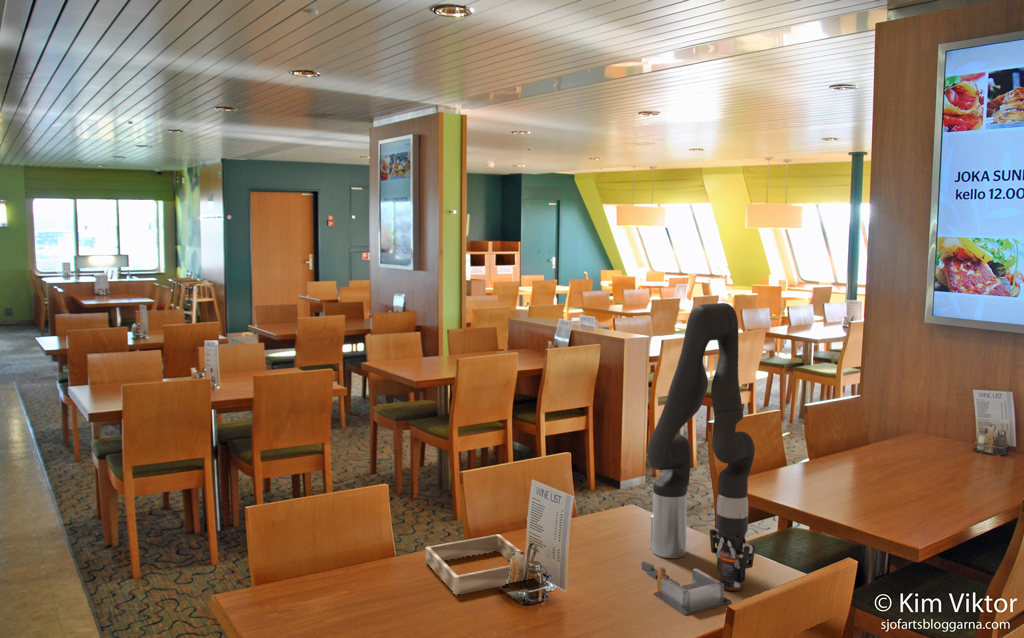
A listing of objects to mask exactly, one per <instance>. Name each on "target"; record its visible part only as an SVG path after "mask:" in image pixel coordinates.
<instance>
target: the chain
mask: <svg viewBox="0 0 1024 638" xmlns="http://www.w3.org/2000/svg"><path fill="white" fill-rule="evenodd" d="M641 569H642V570H643V571H645V572H647V575H648V576H650V577H652V578H653V579H655V580H657V570H658V569H655V565H654V564H652V563H650V562H647V561H645V560H644V561H641ZM666 578H668V579H670V580H671V581H673V582H674V583H676V584H678V585H679V586H681V584H680V583H679V582H677V581H675V580H674V579H672V578H670V576H669V575H668V574H666Z"/></svg>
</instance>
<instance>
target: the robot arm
mask: <svg viewBox="0 0 1024 638" xmlns="http://www.w3.org/2000/svg"><path fill="white" fill-rule="evenodd" d="M737 315H738V314H737V312H736V310H735V309H734V307H733V306H732V305H731V304H729V303H727V302H719V303H718V302H717V303H716V302H715V303H707V304H706V303H705V304H699V305H697V306H695V307H694V308H693V309H692V310H691V311H690V313H689V315H688V319H687V323H686V327H685V331H684V337H683V343H682V347H681V352H680V355H679V358H678V363H677V365H676V369H675V372H674V375H673V376H672V381H671V383H670V386H669V389H668V393H667V396H666V400H665V403H664V406H663V408H662V411H661V414H660V417H659V419H658V422H657V424H656V426H655V428H654V431H653V433H652V435H651V437H650V439H649V442H648V444H647V445H648V446H647V448H646V450H647V451H646V452H647V453H646V455H647V456H646V457H647V463H648V464H649V466H650V468H653V469H654V470H657V471H665V473H664V474H662V475H661V476H659V477H658V478H657V479H655V480H654V481H653V484H652V487H653V488H652V515H651V516H650V549H651V550H652V553H653V554H654V555H656V556H658V557H661V558H666V559H677V558H682V557H685V555H686V554H687V552H686V550H687V546H686V545H687V503H688V502H687V501H688V500H687V498H688V494H687V493H688V487H689V484H690V473H691V465H692V464H691V462H692V461H691V460H692V459H691V458H692V453H691V451H692V449H691V445H690V443H689V441H688V439H687V437H686V436H684V435H682V434H678V432H679V431H680V430H681V429H682V428H683V427H684V426H685V425H686V424H687V423H688V422H689V421H690V420H691V419H692V418H693V417H694V416H695V415H696V414H697V413H698V412H699V410H700V409H701V407H702V405H703V403H704V400H705V398H706V397H705V396H706V395H707V392H708V387H709V380H708V375H707V372H706V369H705V366H704V365H705V364H704V357H705V353H706V349H707V347H708V344H709V343H710V341H711V342H712V341H717V345H718V360H717V366H716V369H715V372H714V374H713V378H712V382H711V389H710V391H711V392H710V393H711V394H710V395H711V396H710V397H711V403H712V410H713V414H714V419H713V429H712V436H711V437H712V438H711V439H712V440H711V446H712V451H713V453H714V455H715V457H716V459H718V461H719V462H721V463H723V464H727V466H726V467H725V468H724V469H722V470H721V471H720V472H719V474H718V482H717V483H718V485H717V486H718V489H717V499H716V527H715V528H712V529H709V537H710V538H709V539H710V551H711V553H712V554H714V555H715V557H716V569H717V573H719V555H720V551H721V550H722V549H724V547H723V546H724V543H727V544H728V547H729V548H730V551H731V555H732V558H733V559H734V560H735V563H736V567H737V568H736V582H737V583H742V582H743V583H744V582H745V581H746V570H747V569H751V568H753V564H754V560H755V559H754V556H755V550H756V546H755V545H754V544H749V543H748V542H747V540H746V534H747V532H748V528H749V500H748V492H749V491H748V490H749V488H748V485H749V484H748V479H749V476H750V474H751V469H752V466H753V463H754V459H755V443H754V440H753V438H752V436H751V435H750V434H748V432H745V431H740V430H739V431H736V429H737V424H739V423H740V422H742V420H743V419H744V410H743V403H742V396H741V389H740V381H739V319H738V316H737ZM739 552H740V553H741V555H737V554H736V553H739ZM739 558H741V559H742V563H740V560H739Z"/></svg>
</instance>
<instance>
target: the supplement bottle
mask: <svg viewBox="0 0 1024 638" xmlns="http://www.w3.org/2000/svg"><path fill="white" fill-rule="evenodd" d="M723 547H724V549H722V550H721V551H720V555H719V572H718V581H720V582H722V583H723V584H724V590H725V591H726V590H727V591H731V592H737V591H740V590H742V589H743V588H744V582H742V583H737V582H736V568H737V567H736V563H735V560H734V559H733V558H732V555H731V551H730V548H729V547H728V544H727V543H724V546H723ZM736 554H737V555H741V553H740V552H739V553H736ZM739 560H740V563H742V559H741V558H739Z"/></svg>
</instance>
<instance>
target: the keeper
mask: <svg viewBox="0 0 1024 638" xmlns="http://www.w3.org/2000/svg"><path fill="white" fill-rule="evenodd" d="M656 570H657V579H656V580H657V583H656V584H657V585H656V586H657V587H656V589H657V591H654V592H653V596H655V597H656V598H658V599H659V600H661V601H663V602H664V603H665V604H667V605H669V607H672V608H673V609H675V610H677V611H678V612H679V613H681V614H683V615H684V616H687V615H688V616H689V615H691V614H695V613H698V612H702V611H703V612H704V611H706V610H710V609H714V608H719V607H722V606H726V605H730V604H732V603H733V602H732V600H730V599H729V598H727V597H725V589H724V584H723V583H722V582H720V581H719V579H716V578H715V577H713V576H710V575H709V574H708V573H705V572H704V571H702V570H700V569H698V568H697V567H695V568H692V582H691V583H689V584H685V585H680V586H679V585H678V584H676V583H674V582H673V581H671V580H670V579H671V578H669V579H668V578H666V575H667V571H666V570H667V569H666V568H665V567H663V566H659V567H657V569H656Z"/></svg>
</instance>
